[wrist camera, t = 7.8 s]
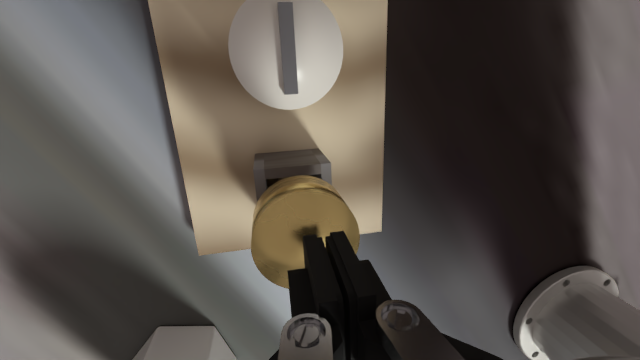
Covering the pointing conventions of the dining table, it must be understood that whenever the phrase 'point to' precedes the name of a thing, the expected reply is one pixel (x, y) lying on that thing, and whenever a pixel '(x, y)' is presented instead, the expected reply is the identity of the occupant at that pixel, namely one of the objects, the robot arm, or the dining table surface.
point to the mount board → (269, 120)
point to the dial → (285, 51)
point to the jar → (185, 344)
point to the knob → (296, 223)
